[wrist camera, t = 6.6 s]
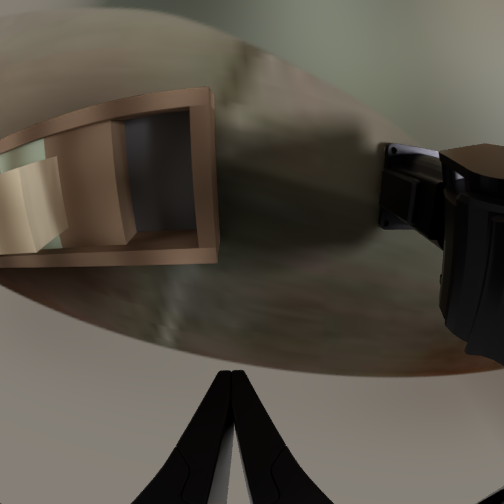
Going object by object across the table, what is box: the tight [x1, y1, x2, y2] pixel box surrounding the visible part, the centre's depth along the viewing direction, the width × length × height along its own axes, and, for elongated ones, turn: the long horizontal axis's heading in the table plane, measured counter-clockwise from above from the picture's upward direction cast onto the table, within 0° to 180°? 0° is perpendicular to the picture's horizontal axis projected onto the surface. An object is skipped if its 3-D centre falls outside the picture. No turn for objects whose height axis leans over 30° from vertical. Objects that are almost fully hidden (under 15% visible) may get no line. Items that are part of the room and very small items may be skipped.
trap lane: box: [0, 87, 220, 268], centre depth 15 cm, size 23×10×4 cm, turn 91°
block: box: [0, 156, 69, 255], centre depth 13 cm, size 5×5×4 cm
